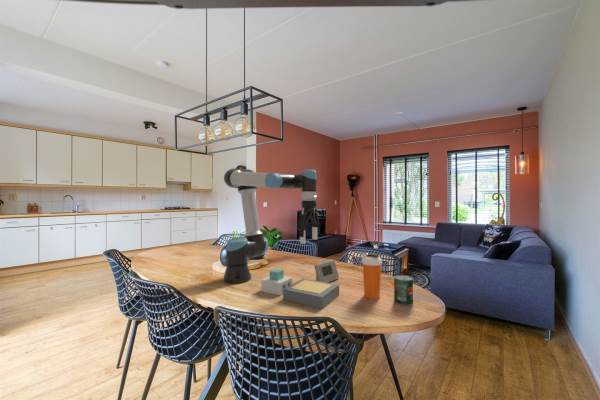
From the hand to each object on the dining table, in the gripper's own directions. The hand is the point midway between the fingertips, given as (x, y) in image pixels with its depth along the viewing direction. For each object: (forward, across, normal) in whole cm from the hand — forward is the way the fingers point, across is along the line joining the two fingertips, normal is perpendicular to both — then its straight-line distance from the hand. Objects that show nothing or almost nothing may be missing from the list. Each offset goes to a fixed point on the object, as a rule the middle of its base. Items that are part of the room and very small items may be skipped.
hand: (309, 241), depth 139 cm
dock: (+24, -11, -8) cm, 27 cm away
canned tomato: (+24, +2, -46) cm, 52 cm away
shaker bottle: (+24, +3, -32) cm, 40 cm away
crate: (+18, -11, +13) cm, 25 cm away
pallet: (+24, -11, +12) cm, 29 cm away
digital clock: (+24, +14, -4) cm, 28 cm away
